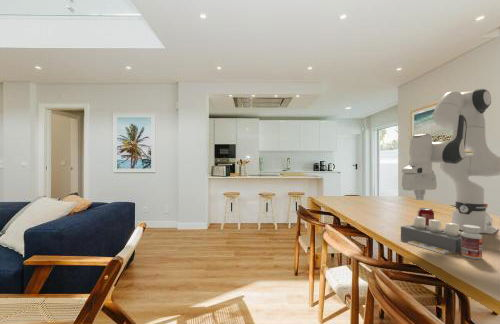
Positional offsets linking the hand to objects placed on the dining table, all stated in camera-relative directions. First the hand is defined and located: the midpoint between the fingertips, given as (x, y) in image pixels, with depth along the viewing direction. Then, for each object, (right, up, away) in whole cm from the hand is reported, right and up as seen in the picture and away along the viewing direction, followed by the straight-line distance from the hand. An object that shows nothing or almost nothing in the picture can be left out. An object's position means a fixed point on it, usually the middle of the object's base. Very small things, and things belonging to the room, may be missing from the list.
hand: (419, 199), depth 119 cm
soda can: (+10, -18, +11) cm, 24 cm away
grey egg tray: (+3, -18, -5) cm, 19 cm away
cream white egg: (+3, -14, -6) cm, 16 cm away
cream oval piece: (0, -14, 0) cm, 14 cm away
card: (-4, -18, -11) cm, 22 cm away
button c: (+6, -14, -11) cm, 19 cm away
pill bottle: (+6, -19, -21) cm, 28 cm away
